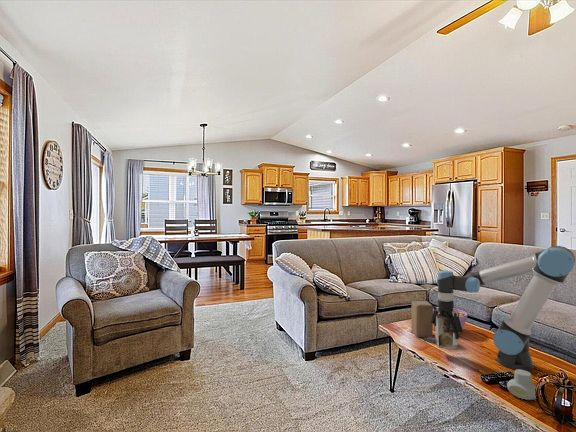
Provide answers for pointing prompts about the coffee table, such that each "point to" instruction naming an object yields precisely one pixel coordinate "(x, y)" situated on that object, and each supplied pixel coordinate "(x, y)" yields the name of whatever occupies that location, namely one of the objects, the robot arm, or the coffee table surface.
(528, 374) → the air freshener
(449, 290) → the robot arm
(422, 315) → the wooden block
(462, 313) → the bowl of food
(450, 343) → the coffee box
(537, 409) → the coffee table surface
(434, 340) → the tv remote
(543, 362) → the coffee table surface
